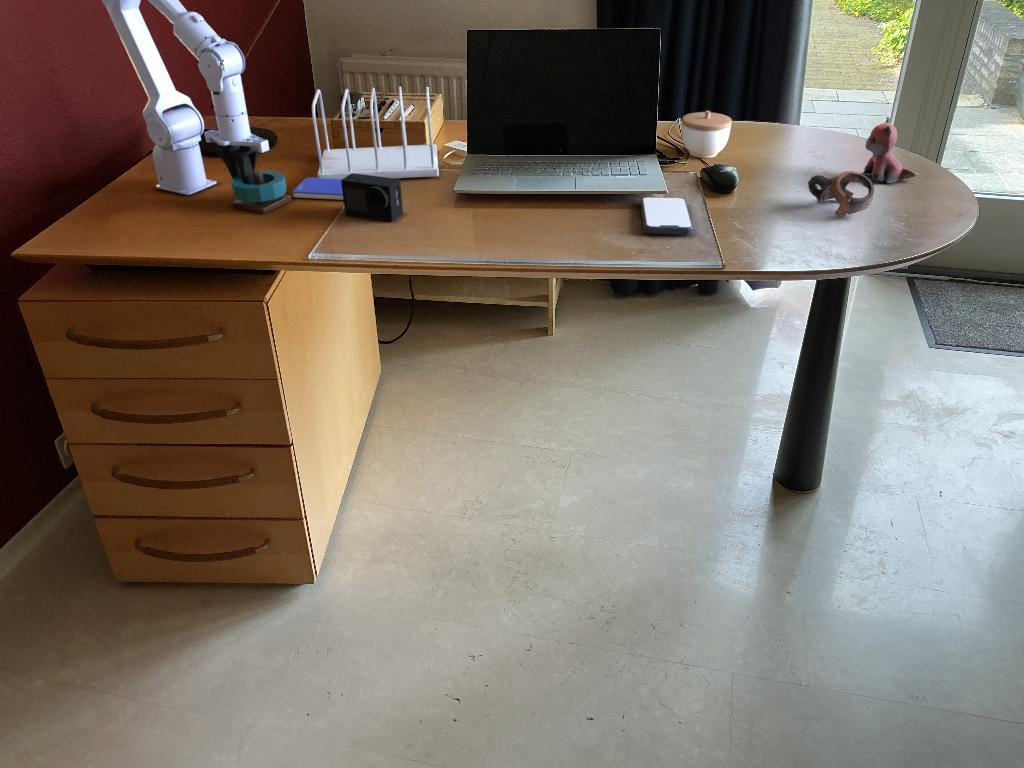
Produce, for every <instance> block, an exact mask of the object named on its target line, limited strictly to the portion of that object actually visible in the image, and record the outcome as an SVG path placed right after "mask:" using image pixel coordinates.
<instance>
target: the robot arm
mask: <svg viewBox="0 0 1024 768" xmlns="http://www.w3.org/2000/svg"><path fill="white" fill-rule="evenodd" d="M101 1H102V4H103V5H104V6H105V8H106V10H107V14H108V15H109V17H110V20H111V22H112V24H113V26H114V28H115V30H116V32H117V35H118V36H119V39H120V42H121V43H122V45H123V47H124V50H125V51H126V53H127V55H128V57H129V60H130V62H131V64H132V67H133V68H134V70H135V73H136V75H137V77H138V79H139V82H140V83H141V85H142V87H143V89H144V92H145V93H146V96H147V98H148V101H147V103H146V104H145V107H144V108H143V111H142V117H143V118H144V120H145V124H146V130H147V134H148V136H149V138H150V140H151V141H152V142H153V143H154V147H153V149H152V162H153V166H154V171H155V174H156V178H157V182H158V184H156V185H155V188H156V189H159V190H164V191H168V192H172V193H177V194H181V195H186V196H190V195H193V194H195V193H197V192H200V191H203V190H205V189H208V188H210V187H212V186H214V185H216V184H217V181H216V180H214V179H213V180H212V179H208V178H207V176H206V172H205V166H204V162H203V161H204V160H203V156H202V153H201V147H200V142H201V141H202V137H201V136H202V135H203V134H204V138H205V142H206V143H216V144H217V146H219V147H217V148H215V153H216V154H217V155H218V156H219V158H220V159H221V161H223V163H224V165H225V166H226V168H227V170H228V173H229V174H230V176H231V178H232V179H233V178H234V177H236V176H238V175H241V177H242V180H243V183H244V184H248V185H249V184H252V183H254V182H253V177H252V174H253V173H255V171H256V165H257V160H258V157H259V155H260V153H263V154H264V153H265V152H268V151H270V146H269V145H270V144H269V140H268V139H264V138H262V137H259V136H258V135H256V134H254V133H252V132H251V128H250V122H249V116H248V110H247V106H246V99H245V92H244V87H243V82H242V76H241V74H243V73H244V71H245V68H246V59H245V56H244V53H243V52H242V50H241V48H240V47H239V46H238V44H236V43H235V42H233V41H228V40H226V39H225V38H221V37H220V35H219V34H218V33H216V32H215V31H214V29H213V28H212V27H211V25H209V24H208V23H207V21H206V20H205V19H204V17H203V16H202V15H201V14H199V13H198V12H196V11H188V10H187V9H186V8H185V7H184V5H183V4H182V3H181V1H179V0H147V1H148V2H149V3H150V4H151V5H153V7H155V8H156V9H157V10H158V11H159V12H160V13H161V14H162V15H163V16H164V17H165V18H166V19H167V20H168V21H169V22H170V23H171V24H173V25H172V27H173V29H172V30H173V34H174V36H175V37H176V38H177V39H178V40H179V41H180V42H181V43H182V44H183V45H184V46H185V47H186V48H187V50H188V51H189V52H190V53H191V54H192V55H193V56H194V57H195V58H196V59H197V60H198V62H199V63H197V66H198V69H199V72H200V73H201V75H202V77H203V78H204V80H205V83H206V87H207V88H208V90H209V91H210V93H211V99H212V104H213V110H214V114H215V119H216V124H217V129H210V130H207V131H204V130H205V122H204V118H203V117H202V115H201V113H200V111H199V110H198V109H197V108H196V107H195V105H194V104H193V102H192V100H191V98H190V97H189V96H187V95H185V94H183V92H179V91H178V90H176V87H175V85H174V83H173V81H172V78H171V77H170V74H169V72H168V70H167V68H166V66H165V63H164V62H163V59H162V57H161V55H160V52H159V50H158V48H157V46H156V43H155V42H154V40H153V37H152V35H151V33H150V31H149V29H148V28H149V27H147V24H146V22H145V20H144V17H143V15H142V14H141V13H142V12H141V10H140V4H141V0H101ZM170 109H172V110H170ZM167 110H169V111H167ZM164 111H165V112H164Z"/></svg>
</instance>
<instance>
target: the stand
mask: <svg viewBox="0 0 1024 768" xmlns="http://www.w3.org/2000/svg"><path fill="white" fill-rule="evenodd" d="M252 177H253V182H254V185H260V184H264V178H263V173H261V172H257V173H253V174H252ZM291 201H292V196H291V195H290V194H286V193H285V194H284V195H283V196H281V197H279V198H276V199H273V200H268V201H263V202H245V201H241V200H237V199H235V200H233V201H232V207H234V208H237V209H242V210H246V211H250V212H254V213H255V212H256V213H259V214H263V215H264V214H267V213H269V212H270V211H272V210H274V209H276V208H279V207H281V206H283V205H285V204H287V203H289V202H291Z"/></svg>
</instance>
